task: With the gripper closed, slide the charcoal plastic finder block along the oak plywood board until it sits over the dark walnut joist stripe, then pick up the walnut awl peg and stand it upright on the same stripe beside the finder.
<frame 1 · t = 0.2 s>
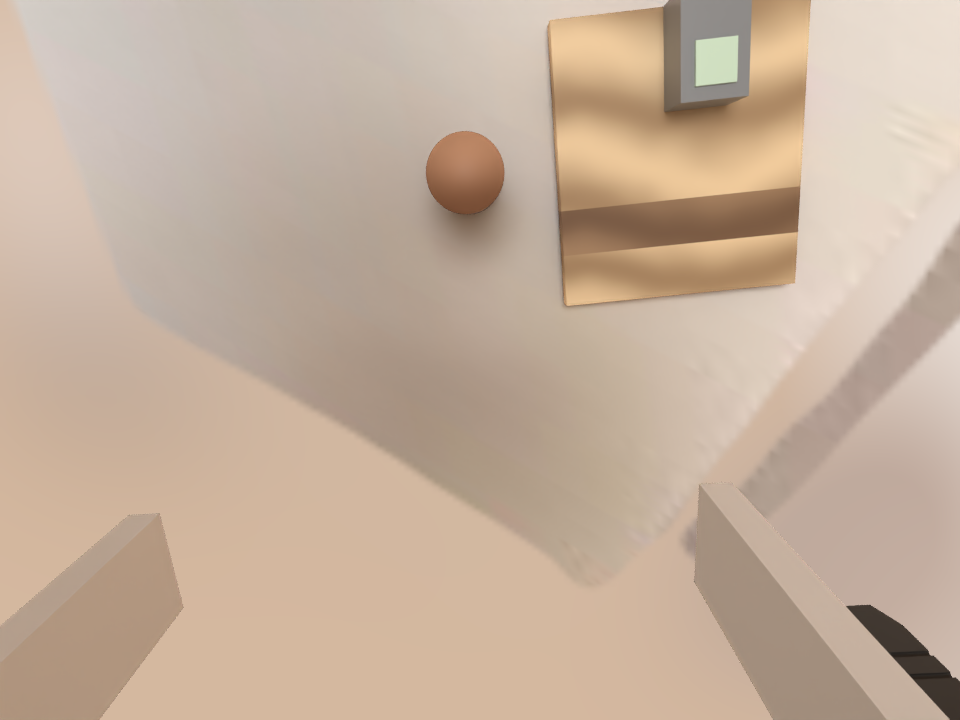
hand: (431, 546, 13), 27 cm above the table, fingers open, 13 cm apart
board: (673, 161, 36), on the table
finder: (695, 57, 34), point 1 cm above the table, touching board
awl: (469, 183, 37), on the table
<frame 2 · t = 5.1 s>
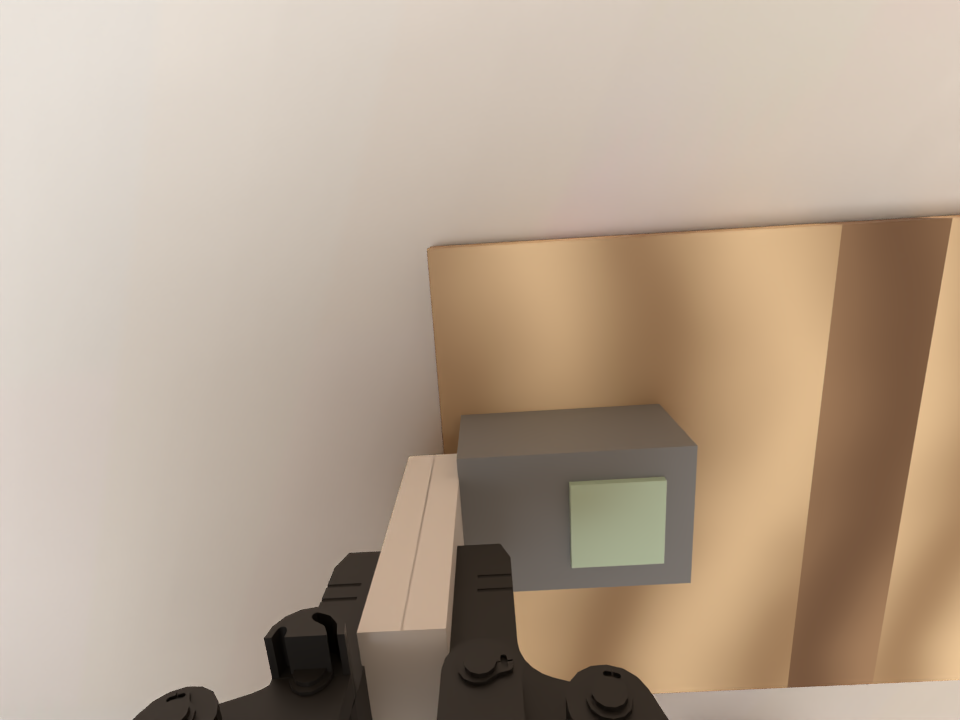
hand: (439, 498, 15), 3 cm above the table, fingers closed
board: (715, 471, 18), on the table
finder: (561, 469, 17), point 1 cm above the table, touching board, gripper
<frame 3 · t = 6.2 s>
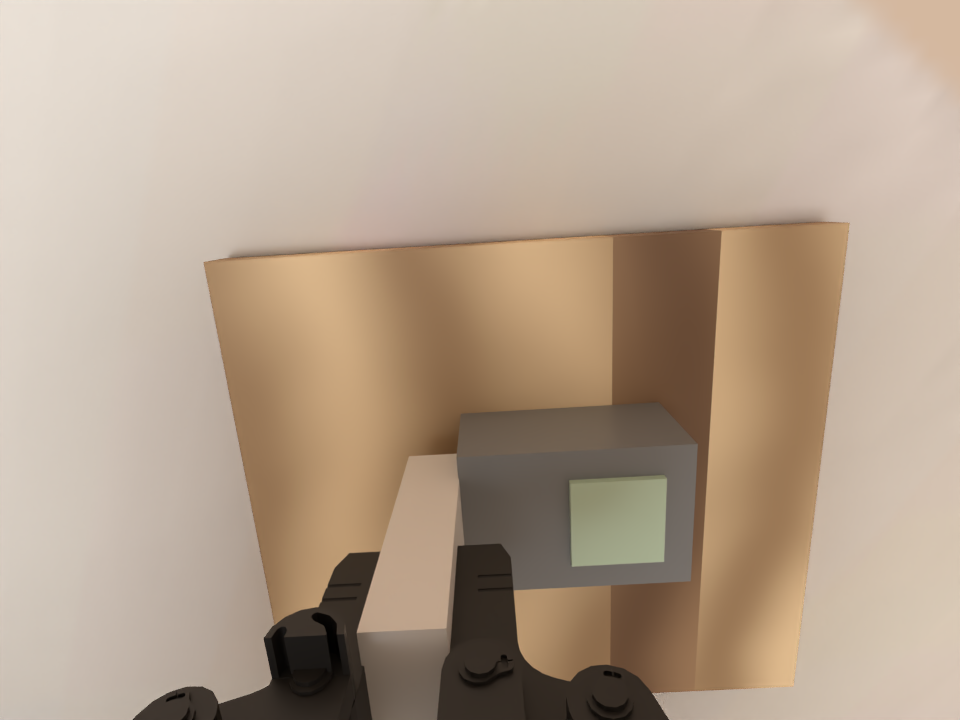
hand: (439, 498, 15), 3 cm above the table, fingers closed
board: (529, 480, 18), on the table
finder: (560, 467, 17), point 1 cm above the table, touching gripper
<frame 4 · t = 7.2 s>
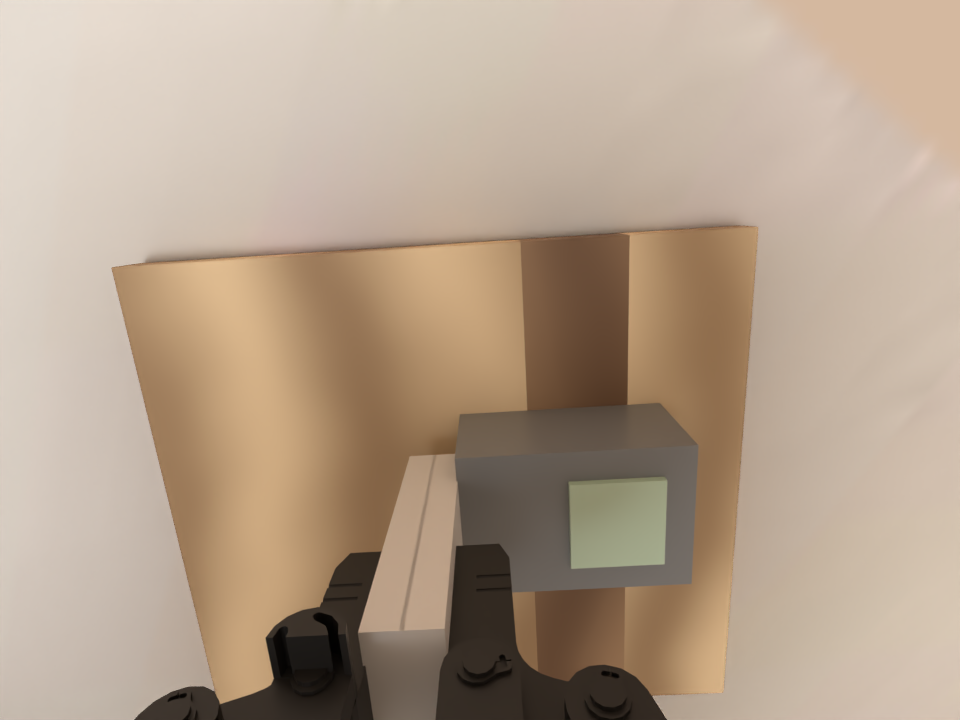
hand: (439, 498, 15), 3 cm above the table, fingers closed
board: (454, 485, 18), on the table
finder: (560, 468, 17), point 1 cm above the table, touching board, gripper
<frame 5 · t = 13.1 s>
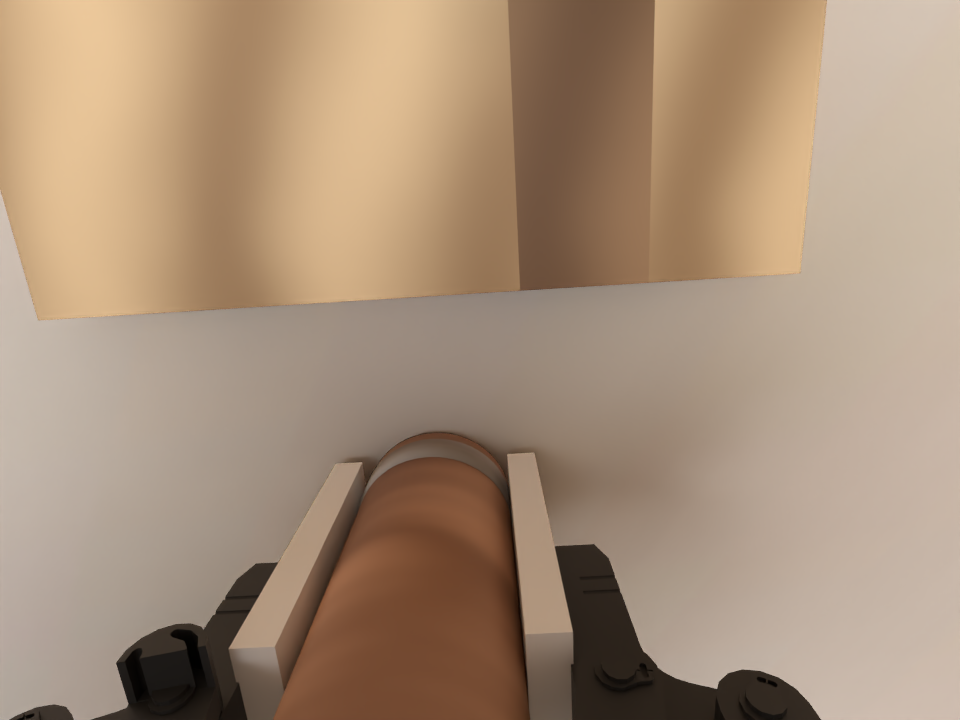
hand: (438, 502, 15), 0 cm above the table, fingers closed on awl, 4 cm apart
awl: (439, 497, 15), on the table, touching gripper
when the fingers open (3 cm above the table, at t = 18.1 s): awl drops 1 cm, resting on board.
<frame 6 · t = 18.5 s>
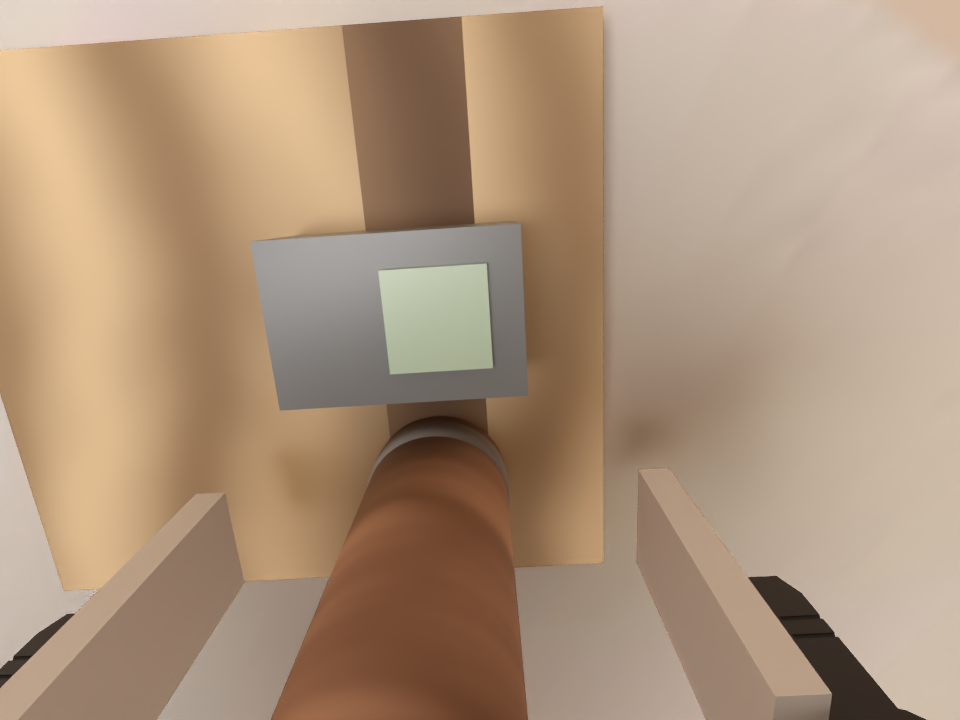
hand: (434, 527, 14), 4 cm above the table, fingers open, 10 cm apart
board: (305, 333, 17), on the table
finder: (411, 300, 15), point 1 cm above the table, touching board
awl: (441, 475, 17), point 1 cm above the table, touching board
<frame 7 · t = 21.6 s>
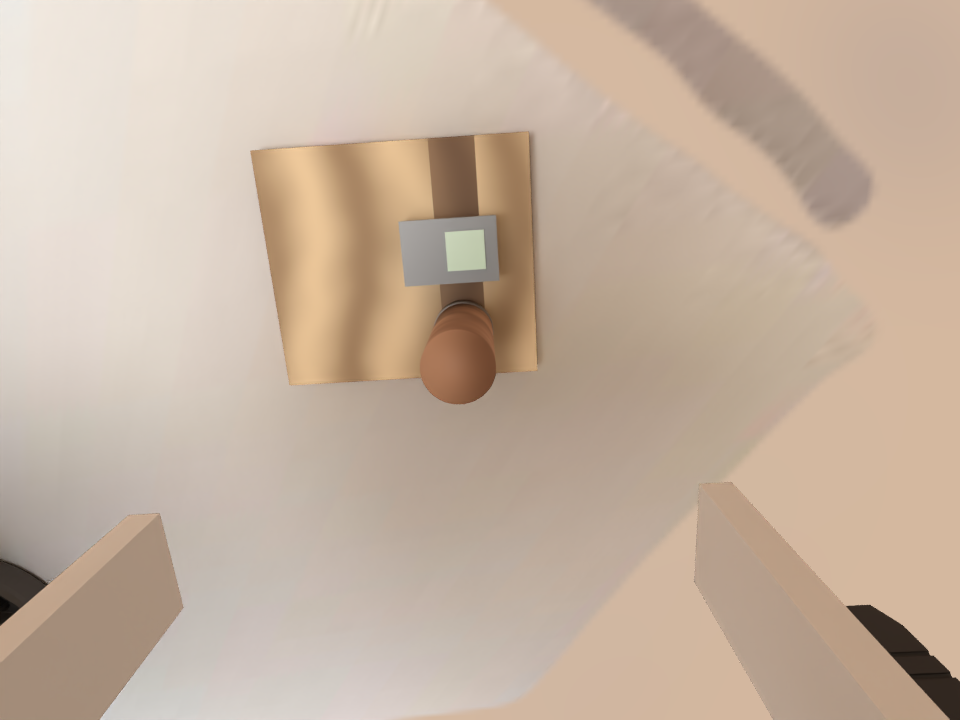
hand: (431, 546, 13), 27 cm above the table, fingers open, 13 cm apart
board: (404, 264, 38), on the table
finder: (452, 248, 36), point 1 cm above the table, touching board
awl: (464, 328, 38), point 1 cm above the table, touching board
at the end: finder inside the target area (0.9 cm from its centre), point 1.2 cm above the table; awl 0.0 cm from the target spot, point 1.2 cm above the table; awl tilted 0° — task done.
